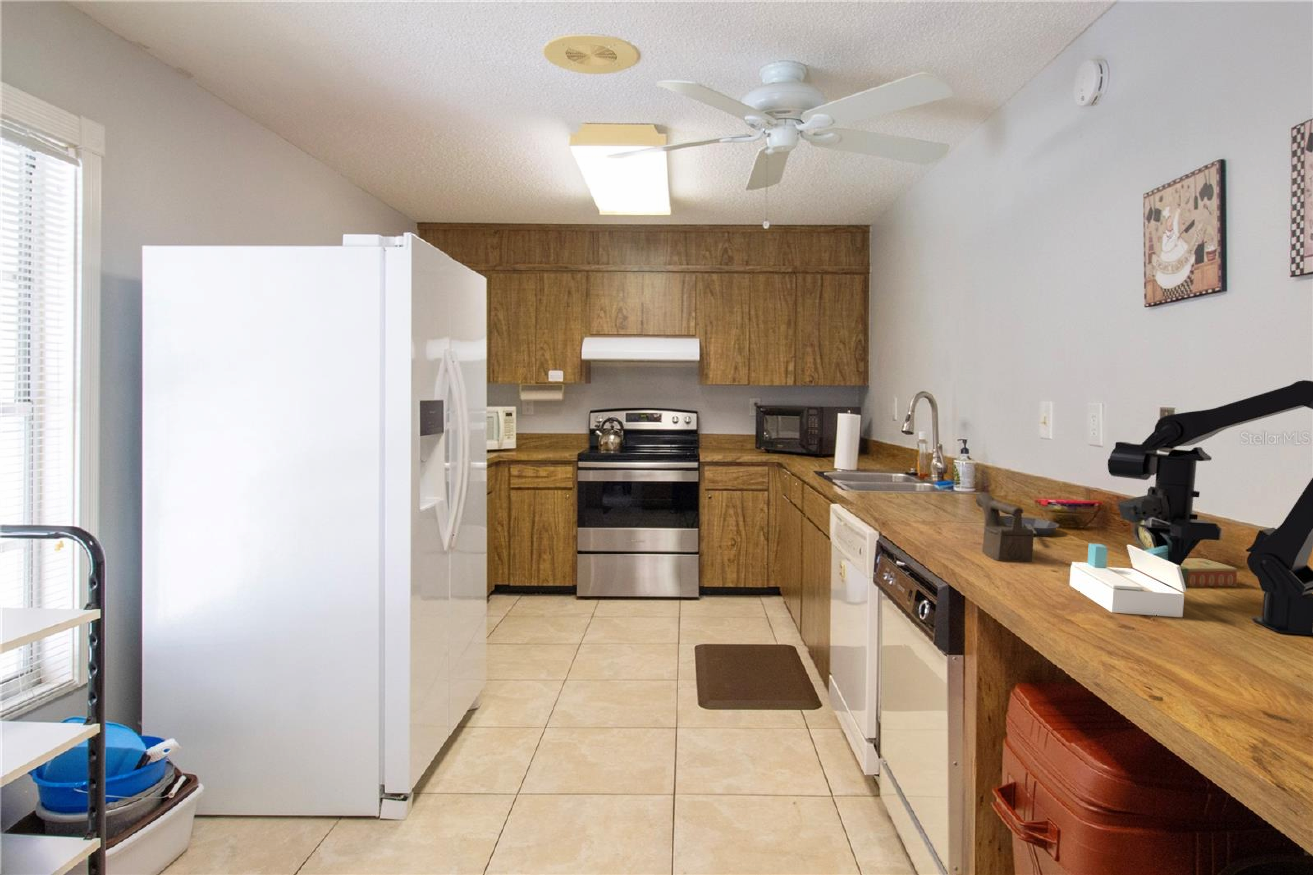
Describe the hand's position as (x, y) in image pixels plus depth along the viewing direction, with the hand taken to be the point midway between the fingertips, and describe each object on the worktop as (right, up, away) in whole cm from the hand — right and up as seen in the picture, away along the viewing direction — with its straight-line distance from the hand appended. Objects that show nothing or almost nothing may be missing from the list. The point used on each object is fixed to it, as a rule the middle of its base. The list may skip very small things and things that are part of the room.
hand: (1167, 568), depth 127 cm
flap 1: (-12, -1, 0) cm, 12 cm away
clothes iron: (-14, -4, +34) cm, 37 cm away
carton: (+13, -6, +14) cm, 21 cm away
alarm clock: (+22, -4, +32) cm, 40 cm away
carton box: (-9, -6, 0) cm, 10 cm away
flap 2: (-4, 0, -1) cm, 4 cm away
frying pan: (+4, -2, +57) cm, 57 cm away
